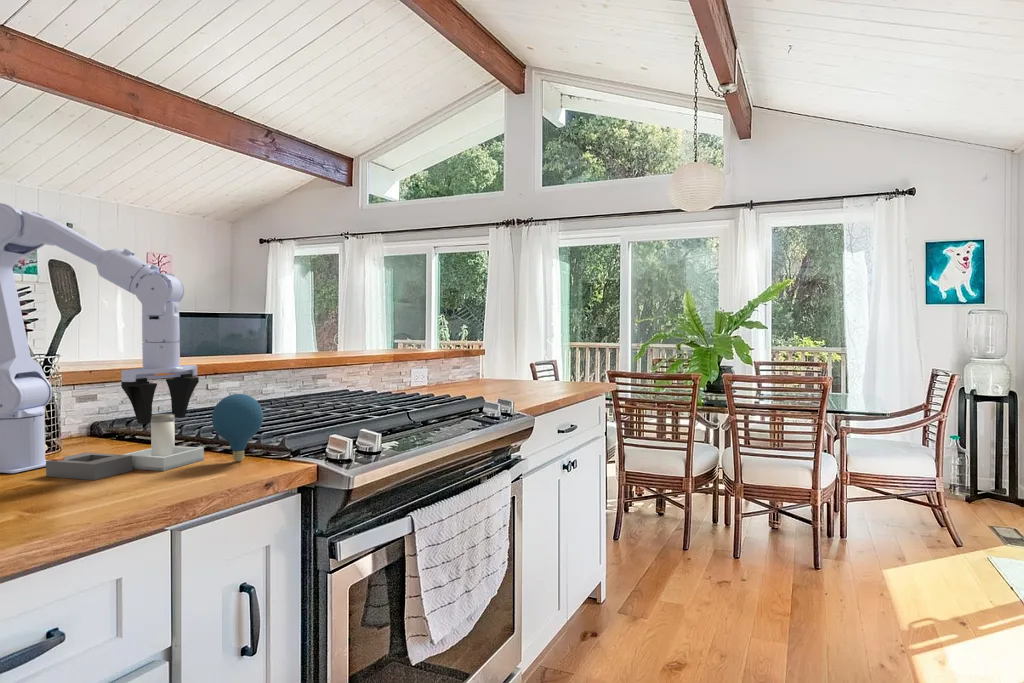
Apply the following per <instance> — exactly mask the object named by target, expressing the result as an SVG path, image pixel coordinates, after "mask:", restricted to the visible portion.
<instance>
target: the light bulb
mask: <svg viewBox="0 0 1024 683" xmlns="http://www.w3.org/2000/svg"><path fill="white" fill-rule="evenodd" d="M211 415H212V416H211V424H212V426H213V429H214V431H215V432H216V433H217V434H218V436H219V437H221V438H222V439H224V440H225V441H227V442H228V443H229V446H230V449H231V450H232V459H233V460H234V461H235V462H238V463H239V462H241V461H242V460H243V461H244V460H245V450H246V448H247V444H248V442H249V440H250V439H252V438H253V437H254V436H255V435H256V434H257V433H258V432H259V431H260V428H261V427H262V426H263V422H264V411H263V408H262V406H261V404H260V403H259V402H258V401H257V399H256V398H254V397H252V396H251V395H248V394H244V393H234V394H230V395H228V396H225V397H224V398H222V399H220V401H218V402H217V404H216V405H215V406H214V409H213V411H212V413H211Z"/></svg>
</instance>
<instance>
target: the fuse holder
mask: <svg viewBox="0 0 1024 683" xmlns="http://www.w3.org/2000/svg"><path fill="white" fill-rule="evenodd" d="M47 460H48V461H46V466H45V475H46V476H45V477H50V478H64V479H74V480H76V479H77V480H89V481H97V480H100V479H101V480H102V479H105V478H109V477H112V476H116V475H120V474H123V473H128V472H132V471H133V469H132V455H123V454H116V453H115V454H113V453H98V452H82V453H78V454H73V455H68V456H63V457H62V456H60V457H59V456H58V457H57V456H56V457H54V458H51V459H47Z"/></svg>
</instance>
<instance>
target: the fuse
mask: <svg viewBox="0 0 1024 683" xmlns="http://www.w3.org/2000/svg"><path fill="white" fill-rule="evenodd" d="M175 418H176V417H175V414H172V413H157V414H152V418H151V423H150V436H151V437H150V442H151V444H150V448H151V456H158V457H165V456H169V455H173V454H175V446H176V445H175V440H176V439H175V436H176V435H175V430H176V429H175V421H176V419H175Z"/></svg>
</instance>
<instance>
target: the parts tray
mask: <svg viewBox="0 0 1024 683" xmlns="http://www.w3.org/2000/svg"><path fill="white" fill-rule="evenodd" d="M122 455H132V470H142V471H143V470H145V471H146V470H147V471H159V472H161V471H162V472H166V471H170V470H172V469H177V468H179V467H183V466H187V465H191V464H195V463H198V462H203V461H204V460H205V449H204V447H195V446H178V445H175V454H173V455H169V456H165V457H158V456H151V447H150V448H145V449H142V450H141V449H140V450H137V451H133V452H128V453H125V454H124V453H123V454H122Z"/></svg>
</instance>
